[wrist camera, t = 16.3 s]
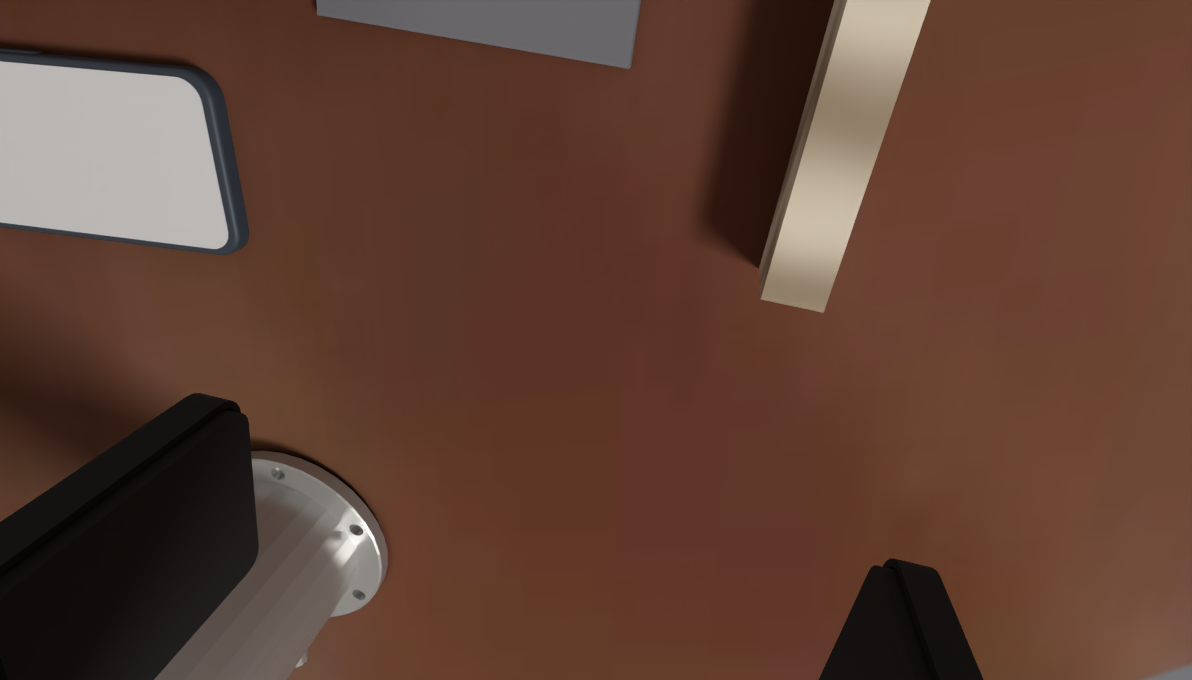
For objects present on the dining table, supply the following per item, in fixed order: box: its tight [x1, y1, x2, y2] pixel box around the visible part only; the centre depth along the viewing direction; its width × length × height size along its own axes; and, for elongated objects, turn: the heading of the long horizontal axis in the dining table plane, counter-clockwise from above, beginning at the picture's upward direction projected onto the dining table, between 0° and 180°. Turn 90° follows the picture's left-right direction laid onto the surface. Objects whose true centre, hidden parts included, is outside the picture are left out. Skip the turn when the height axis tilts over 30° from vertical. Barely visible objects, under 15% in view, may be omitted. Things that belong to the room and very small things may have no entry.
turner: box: [759, 0, 930, 312], centre depth 23 cm, size 15×5×5 cm, turn 171°
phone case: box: [0, 48, 249, 255], centre depth 32 cm, size 9×2×16 cm
